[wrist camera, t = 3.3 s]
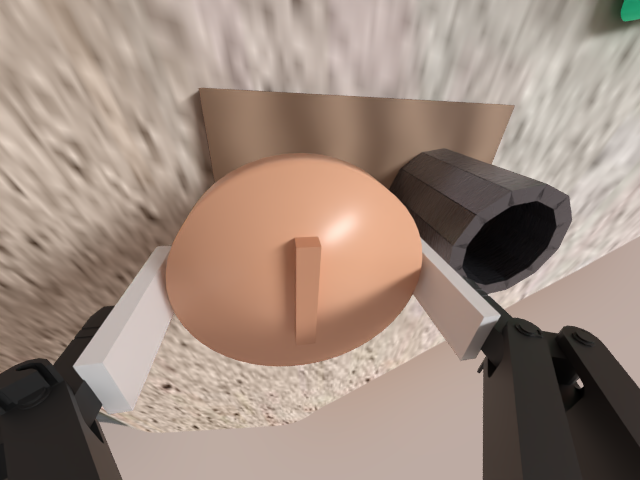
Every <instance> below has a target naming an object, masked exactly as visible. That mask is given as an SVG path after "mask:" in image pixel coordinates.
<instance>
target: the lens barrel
mask: <svg viewBox="0 0 640 480" xmlns="http://www.w3.org/2000/svg"><path fill="white" fill-rule="evenodd" d="M389 191H390V192H391V193H392V194H394V195H395V196H396V197H397V198H398V199H399V200H400V202H401V203H402V204H403V205H404V206H405V207H406V208H407V210H408V212H409V213H410V215H411V216H412V218H413V219H414V222H415V224H416V226H417V229H418V231H419V235H420V237H421V238H422V239H423V240H424V241H425V242H426V243H427V244H428V245H429V246H430V247H431V248H432V249H433V250H434V251H435V252H436V253H437V254H438V255H439V256H440V257H441V258H442V259H443V260H444V261H445V262H446V263H447V264H448V265H449V266H451V267H452V268H453V269H454V270H455V271H456V272H457V273H458V274H459V275H460V276H465V277H467V278H469V279H470V280H472V281H474V282H475V283H476V284H477V285H478V286H479V287H480V288H481V289H482V290H483V291H485V292H486V293H487V294H489V293H493V292H498V291H502V290H506V289H508V288H510V287H512V286H513V285H515V284H517V283H518V282H520V281H522V280H523V279H525V278H527V277H529V276H530V275H532V274H534V272H536V271H537V270H538V269H539V268H540V267H541V266H542V265H543V264H544V263H545V262H546V261H547V260H548V259H549V258H550V257H551V256H552V255H553V254H554V253H555V252H556V251H557V250H558V248H559V247H560V245H561V242H562V240H563V238H564V236H565V234H566V232H567V230H568V228H569V226H570V224H571V222H572V221H571V220H572V216H571V207H570V199H569V196H568V195H566V194H565V193H563V192H561V191H559V190H557V189H555V188H554V187H552V186H550V185H548V184H545V183H543V182H540V181H537V180H534V179H531V178H528V177H526V176H523V175H520V174H517V173H514V172H511V171H508V170H506V169H503V168H500V167H497V166H494V165H491V164H489V163H486V162H483V161H480V160H477V159H474V158H471V157H469V156H466V155H463V154H460V153H457V152H454V151H451V150H449V149H446V148H443V149H437V150H431V151H426V152H421V153H420V154H419V155H417V156H416V157H415V158H413V159H412V160H411V161H409V162H408V163H407V164H405V165H404V166H403V167H401V168H400V170H399V172H398V174H397V175H396V177H395V179H394V181H393V183H392V185H391V186H390V188H389Z"/></svg>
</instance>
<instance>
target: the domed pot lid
mask: <svg viewBox="0 0 640 480" xmlns="http://www.w3.org/2000/svg"><path fill="white" fill-rule="evenodd" d="M421 266H422V244H421V239H420V235H419V231H418V229H417V226H416V224H415V222H414V219H413V218H412V216H411V215H410V213H409V212H408V210H407V208H406V207H405V206H404V205H403V204H402V203H401V202H400V200H399V199H398V198H397V197H396V196H395V195H394V194H392V193H391V192H390V191H389V190H388V189H387V188H385V187H384V186H383V185H382V184H381V183H380V182H378V181H377V180H376V179H375V178H373V177H372V176H371V175H370V174H368V173H367V172H366V171H364V170H362V169H360V168H359V167H357V166H355V165H353V164H351V163H348V162H346V161H343V160H340V159H338V158H334V157H330V156H325V155H321V154H310V153H290V154H280V155H275V156H270V157H265V158H262V159H259V160H256V161H253V162H250V163H247V164H245V165H243V166H241V167H239V168H237V169H235V170H233V171H231V172H230V173H228V174H227V175H225V176H224V177H222V178H221V179H220V180H218V181H217V182H216V183H214V184H213V185H212V186H211V187H210V188H209V189H208V190H207V191H206V192H205V193H204V194H203V195H202V197H201V198H200V199H199V200H198V202H197V203H196V204H195V206H194V207H193V209H192V210H191V212H190V214H189V215H188V217H187V219H186V220H185V222H184V224H183V225H182V227H181V229H180V230H179V232H178V234H177V236H176V238H175V240H174V242H173V243H172V247H171V250H170V253H169V256H168V259H167V267H166V289H167V292H168V296H169V300H170V303H171V305H172V308H173V310H174V312H175V314H176V316H177V317H178V319H179V320H180V322H181V323H182V325H183V326H184V327H185V328H186V329H187V330H188V331H189V332H190V333H191V334H192V335H193V336H194V337H195V338H196V339H197V340H199V341H200V342H201V343H202V344H204V345H206V346H207V347H209V348H210V349H212V350H214V351H216V352H218V353H220V354H222V355H224V356H227V357H230V358H233V359H235V360H238V361H243V362H247V363H251V364H257V365H265V366H295V365H304V364H310V363H316V362H320V361H324V360H327V359H331V358H333V357H336V356H339V355H342V354H344V353H347V352H349V351H351V350H353V349H355V348H357V347H359V346H361V345H363V344H364V343H366V342H368V341H369V340H371V339H372V338H374V337H375V336H376V335H378V334H379V333H380V332H382V331H383V330H384V329H385V328H386V327H387V326H388V325H390V324H391V323H392V322H393V321H394V320H395V318H396V317H397V316H398V315H399V314H400V313H401V311H402V310H403V309H404V307H405V306H406V305H407V303H408V301H409V300H410V298H411V296H412V294H413V292H414V290H415V288H416V285H417V283H418V280H419V276H420V272H421Z"/></svg>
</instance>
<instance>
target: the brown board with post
mask: <svg viewBox="0 0 640 480" xmlns="http://www.w3.org/2000/svg"><path fill="white" fill-rule="evenodd" d="M199 93H200V99H201V105H202V111H203V117H204V123H205V129H206V134H207V140H208V146H209V152H210V158H211V164H212V170H213V176H214V181H215V183H216V182H217V181H218V180H220V179H221V178H222V177H224V176H225V175H227V174H228V173H230V172H231V171H233V170H235V169H237V168H239V167H241V166H243V165H245V164H247V163H250V162H253V161H256V160H259V159H262V158H265V157H270V156H275V155H280V154H290V153H310V154H321V155H325V156H330V157H334V158H338V159H340V160H343V161H346V162H348V163H351V164H353V165H355V166H357V167H359V168H360V169H362V170H364V171H366V172H367V173H368V174H370V175H371V176H372V177H373V178H375V179H376V180H377V181H378V182H380V183H381V184H382V185H383V186H384V187H385V188H387V189H388V190H389V188H390V186H391V185H392V183H393V181H394V179H395V177H396V175H397V174H398V172H399V170H400V168H401V167H403V166H404V165H405V164H407V163H408V162H409V161H411V160H412V159H413V158H415V157H416V156H417V155H419V154H420V153H421V152H426V151H431V150H437V149H443V148H446V149H449V150H451V151H454V152H457V153H460V154H463V155H466V156H469V157H471V158H474V159H477V160H480V161H483V162H486V163H489V164H492V162H493V159H494V157H495V154H496V151H497V149H498V146H499V144H500V141H501V139H502V136H503V134H504V131H505V129H506V126H507V124H508V121H509V119H510V116H511V114H512V111H513V109H514V105H501V104H483V103H466V102H448V101H430V100H412V99H394V98H376V97H358V96H340V95H322V94H304V93H286V92H268V91H250V90H232V89H214V88H199Z"/></svg>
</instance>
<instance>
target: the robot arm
mask: <svg viewBox="0 0 640 480" xmlns="http://www.w3.org/2000/svg"><path fill="white" fill-rule="evenodd" d="M420 239H421V244H422V266H421V272H420V276H419V280H418V283H417V285H416V288H415V290H414V292H413V295H414V296H415V297H416V299H417V300H418V302H419V303H420V304H421V306H422V307H423V309H424V310H425V311H426V313H427V314H428V316H429V317H430V318H431V320H432V321H433V323H434V324H435V325H436V327H437V328H438V330H439V331H440V332H441V334H442V335H443V337H444V338H445V339H446V341H447V342H448V344H449V345H450V346H451V348H452V349H453V350H454V352H455V353H456V355H457V356H458V357H459V359H460V360H461V361H462V360H467V359H474V358H476V357H477V355H478V353H479V352H480V350H482V351H483V353H484V354H485V355H486V357H485V359H484V360H483V362H482V363H481V365H480V367H479V368H478V371H477V372H478V373H480V372H481V371H482V369H483V370H484V371H483V373H484V374H483V377H484V378H483V480H640V389H639V388H638V386H637V385H636V383H635V382H634V381H633V380H632V379H631V377H630V376H629V375H628V374H627V372H626V371H625V370H624V369H623V367H622V366H621V365H620V364H619V362H618V361H617V360H616V359H615V358H614V356H613V355H612V354H611V353H610V351H609V350H608V349H607V348H606V346H605V345H604V344H603V343H602V342H601V341H600V340H599V339H598V338H597V337H595V336H594V335H592V334H591V333H590V332H588V331H585V330H584V329H581V328H578V327H575V326H565V327H563V328H562V329H561V331H560V332H559V333H551V332H545V331H541V330H540V329H539V328H538V327H537V326H536V325H534V324H533V323H531V322H529V321H526V320H524V319H520V318H512V317H511V316H510V315H509V314H508V313H507V312H506V311H505V310H504V309H503V308H502V307H501V306H500V305H499V304H497V303H496V302H495V301H494V300H493V299H492V298H491V297H490V296H488V294H487V293H486V292H485V291H483V290H482V289H481V288H480V287H479V286H478V285H477V284H476V283H475V282H474V281H472V280H470V279H469V278H467V277H465V276H460V275H459V274H458V273H457V272H456V271H455V270H454V269H453V268H452V267H451V266H449V265H448V264H447V263H446V262H445V261H444V260H443V259H442V258H441V257H440V256H439V255H438V254H437V253H436V252H435V251H434V250H433V249H432V248H431V247H430V246H429V245H428V244H427V243H426V242H425V241H424V240H423V239H422V238H421V237H420ZM171 247H172V246H157V247H156V248H155V250H154V251H153V253H152V254H151V255H150V257H149V258H148V260H147V261H146V263H145V264H144V265H143V267H142V268H141V270H140V271H139V273H138V274H137V275H136V277H135V278H134V280H133V281H132V283H131V284H130V285H129V287H128V288H127V290H126V291H125V293H124V294H123V295H122V297H121V298H120V300H119V301H118V303H117V304H116V305H115V306H107V307H103V308H101V309H100V310H99V311H98V312H96V313H95V314H94V315H92V316H91V317H90V318H89V320H88V321H87V322H86V323H85V325H84V326H83V327H82V330H80V331H79V332H78V334H77V335H76V336H75V339H74V340H72V341H71V343H70V344H69V345H68V347H67V348H66V349H65V351H64V352H63V353H62V354H61V356H60V357H59V358H58V360H57V361H56V362H55V363H54V365H52V364H51V363H50V362H49V361H48V360H47V359H40V358H38V359H33V360H28V361H25V362H22V363H20V364H17V365H15V366H13V367H11V368H10V369H8V370H6V371H4V372H3V373H1V374H0V480H122V477H121V475H120V473H119V470H118V468H117V465H116V463H115V460H114V458H113V456H112V453H111V451H110V448H109V446H108V443H107V441H106V439H105V436H104V434H103V431H102V429H101V427H100V424H99V422H98V421H97V419H96V416H97V414H98V412H99V410H100V409H101V407H102V406H103V408H104V409H105V410H106V412H107V413H108V414H114V413H120V412H127V411H133V409H134V407H135V405H136V402H137V400H138V397H139V395H140V393H141V390H142V388H143V385H144V383H145V381H146V378H147V376H148V373H149V371H150V369H151V366H152V364H153V361H154V359H155V357H156V354H157V352H158V349H159V347H160V345H161V342H162V340H163V337H164V335H165V333H166V330H167V328H168V325H169V323H170V321H171V318H172V316H173V313H174V310H173V308H172V305H171V303H170V300H169V296H168V292H167V289H166V267H167V259H168V256H169V253H170V250H171ZM579 378H580V379H581V381H582V383H583V385H584V387H583V388H580V386H579V385H578V384H577V382H576V381H577V380H578V379H579Z"/></svg>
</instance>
